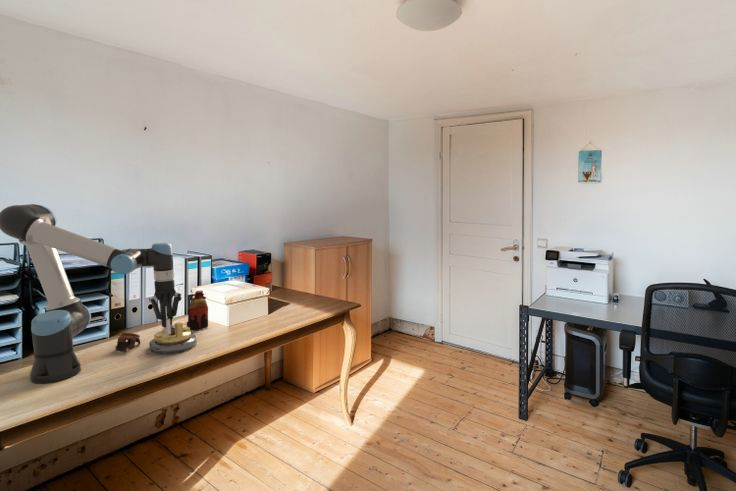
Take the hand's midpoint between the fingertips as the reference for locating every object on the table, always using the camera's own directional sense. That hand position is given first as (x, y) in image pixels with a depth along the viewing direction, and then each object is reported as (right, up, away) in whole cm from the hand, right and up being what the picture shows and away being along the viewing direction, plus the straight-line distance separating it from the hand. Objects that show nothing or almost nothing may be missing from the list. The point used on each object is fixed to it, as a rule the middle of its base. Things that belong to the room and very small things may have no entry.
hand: (167, 333), depth 174 cm
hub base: (-2, -8, +9) cm, 12 cm away
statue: (-2, -5, +34) cm, 34 cm away
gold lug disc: (-2, -4, +8) cm, 9 cm away
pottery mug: (-20, -8, +5) cm, 22 cm away
